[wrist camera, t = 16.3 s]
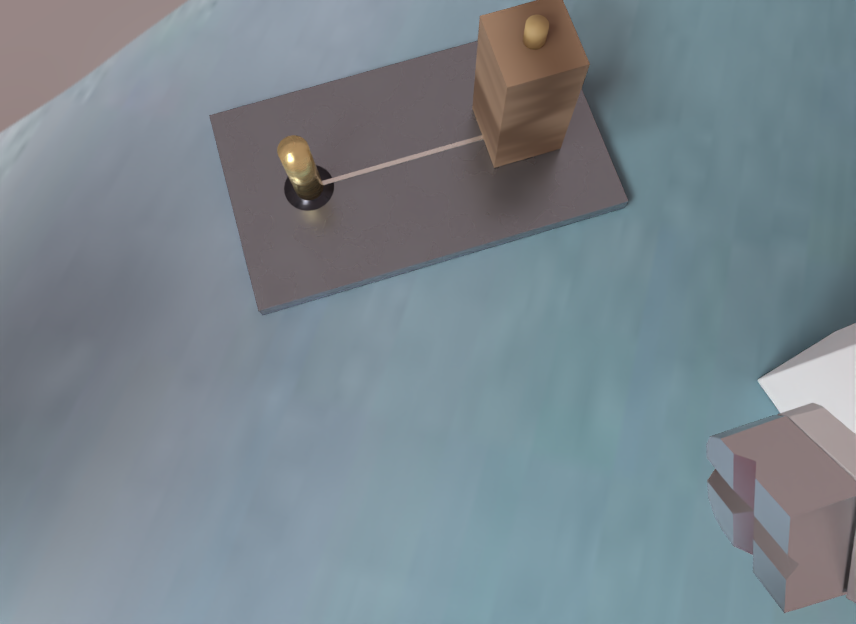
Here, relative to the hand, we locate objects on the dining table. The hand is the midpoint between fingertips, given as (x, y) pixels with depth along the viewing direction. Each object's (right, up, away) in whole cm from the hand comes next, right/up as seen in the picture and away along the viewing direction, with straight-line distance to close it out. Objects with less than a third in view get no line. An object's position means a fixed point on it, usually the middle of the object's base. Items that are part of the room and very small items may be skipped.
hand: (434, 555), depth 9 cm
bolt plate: (-1, +13, +36) cm, 38 cm away
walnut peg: (+6, +15, +35) cm, 39 cm away
